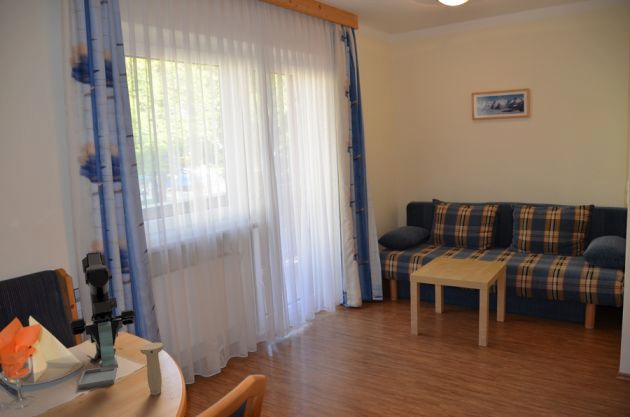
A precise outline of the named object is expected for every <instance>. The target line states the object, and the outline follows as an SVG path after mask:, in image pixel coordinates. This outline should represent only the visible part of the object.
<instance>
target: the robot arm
mask: <svg viewBox="0 0 630 417" xmlns="http://www.w3.org/2000/svg"><path fill="white" fill-rule="evenodd" d="M106 257H107V256H105V255H103V254H102V253H101V251H93V252H87V253H86V256H85V257H84V258H83V259H82V260H81V264H82V265H81V266H82V272H83V274H84V281H85V285H87V286H88V287H89V296H90V303H91V311H92V315H91V316H90V317H91V318H90V320H89V319H88V320H85V317H82V318H76V319H71V320H70V322H69V323H70V330H71V335H72V336H77V335H82V334H84V333H85V335H86V336H89V337H90V342H91V344H95V351H96V352H95V355H94V360H95V361H96V360H102V357H101V346H100V339H99V330H98V323H103V322H108V321H110V323H111V329H112V338H113V347H115V345H116V340H117V337H119V330H120V329H123V326H128V325H133V324H135V322H136V314H135V310H133V308H132V309H131V308H130V309H125V310H121V311H120V314H119V315H115V316H113V315H114V314H113V313H114V312H113V309H117V308H118V302H117V297H112V298H111V297H110V286H109V283H110V281H111V280H113V274H112V272H111V271H110V269H108V266H107V264H108V263H107V258H106ZM116 351H117V348H114V357H115V354H116Z"/></svg>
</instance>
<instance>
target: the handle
mask: <svg viewBox="0 0 630 417" xmlns="http://www.w3.org/2000/svg"><path fill="white" fill-rule="evenodd" d="M163 349H164V345H163V343H162V342H150V343H145V344H142V345H141V346H140V347H139V351H140V353H141V354H142V355H145V357H146V374H147V375H146V376H147V383H148V388H149V392H150V393H149V394H150V395H152V396H158V395H160V394H162V386H163V385H162V383H163V382H162V380H163V377H162V372H161V369H162V368H161V366H160V358H159V353H160V352H162V351H163Z"/></svg>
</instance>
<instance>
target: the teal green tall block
mask: <svg viewBox="0 0 630 417" xmlns="http://www.w3.org/2000/svg"><path fill="white" fill-rule="evenodd" d="M98 330H99V339H100V346H101V357H102V359H101V360H99V368H100V369H101V372H102V371H106V370H111V369H115V368H117V369H118V368H119V364H118V363H119V362H118V359H117V357H115V356H114V349H115V348H114V346H113V338H112V329H111V323H110V321H108V322H103V323H98Z"/></svg>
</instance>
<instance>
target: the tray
mask: <svg viewBox="0 0 630 417" xmlns="http://www.w3.org/2000/svg"><path fill="white" fill-rule="evenodd" d="M117 372H118V368H115V369H111V370H106V371H102V372H101V369H100V367H97V368H90V369H84V370H83V371H82V373H81V376H80V379H79V382H78V384H77V385H78V390H79V389H80V390H86V389H91V388H97V387H103V386H109V385H114V384H115V381H116V377H117Z"/></svg>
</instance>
